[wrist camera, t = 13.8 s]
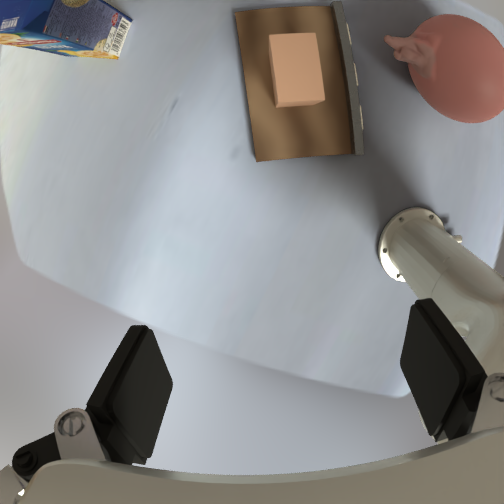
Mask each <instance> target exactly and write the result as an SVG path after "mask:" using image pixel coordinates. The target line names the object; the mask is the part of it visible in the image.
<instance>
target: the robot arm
mask: <svg viewBox="0 0 504 504" xmlns="http://www.w3.org/2000/svg"><path fill="white" fill-rule="evenodd" d="M400 217H401V218H400ZM461 242H462V237H461V235H454V236H451V235H450V234H449V233H447V232H446V231H445V228H444V225H443V223H442V221H441V220H440V218H439V217H438V216H437V215H436V214H435V213H433V212H431V211H430V210H427V209H425V208H420V207H414V208H409V209H405V210H403V211H401V212H399V213H398V214H397V215H395V216H394V217H393V218H392V219H391V220H390V221H389V222H388V223H387V225H386V227H385V228H384V230H383V232H382V234H381V237H380V241H379V246H378V254H379V260H380V263H381V265H382V267H383V268H384V270H385V271H386V272H387V274H388V275H390V276H391V277H392V278H394V279H395V280H398V281H402V282H406V283H407V284H408V285H409V286H410V288H411V289H412V290H413V292H414V293H415V294H416V296H417V297H418V298H419V300H416V302H415V304H414V305H412V306H411V309H410V314H409V320H408V325H407V331H406V336H405V340H404V345H403V350H402V354H401V358H400V366H401V369H402V371H403V374H404V376H405V378H406V380H407V383H408V385H409V387H410V390H411V392H412V394H413V397H414V399H415V401H416V404H417V406H418V408H419V416H420V419H421V422H422V424H423V426H424V427H425V429H426V431H427V432H428V433H429V435H430V436H431V437H432V438H433V439H434V440H435V442H437V443H438V445H435V446H432V447H428V448H425V449H422V450H418V451H414V452H411V453H407V454H404V455H400V456H396V457H392V458H388V459H383V460H379V461H375V462H370V463H365V464H360V465H354V466H348V467H342V468H335V469H328V470H321V471H313V472H303V473H291V474H274V475H215V474H199V473H186V472H176V471H168V470H160V469H152V468H145V467H138V466H133V465H132V463H137V464H143V465H145V463H146V460H147V458H150V457H151V456H152V453H153V449H154V446H155V442H156V439H157V436H158V433H159V430H160V426H161V423H162V420H163V416H164V413H165V410H166V406H167V404H168V400H169V397H170V394H171V391H172V387H173V382H172V378H171V376H170V374H169V371H168V369H167V366H166V364H165V361H164V359H163V356H162V354H161V351H160V349H159V346H158V343H157V341H156V338H155V335H154V333H153V331H152V330H151V329H149V328H148V327H147V326H146V325H133V326H131V327H130V328H129V330H128V331H127V333H126V335H125V337H124V338H123V340H122V341H121V343H120V345H119V347H118V348H117V350H116V352H115V353H114V355H113V357H112V359H111V360H110V362H109V364H108V366H107V367H106V369H105V371H104V373H103V375H102V377H101V378H100V380H99V382H98V384H97V386H96V387H95V389H94V391H93V393H92V395H91V397H90V398H89V400H88V402H87V404H86V405H87V407H86V409H85V410H83V409H80V408H72V409H68V410H66V411H64V412H63V413H62V414H60V415H59V416H58V418H57V419H56V421H55V424H54V432H53V433H51V434H49V435H47V436H45V437H43V438H41V439H39V440H36V441H34V442H32V443H29V444H27V445H25V446H23V447H21V448H19V449H18V450H17V451H16V453H15V454H14V456H13V460H12V467H11V466H10V465H7V466H6V467H5V468H3V469H2V470H1V471H0V504H504V277H503V276H502V275H500V274H499V273H498V272H496V271H495V270H494V269H492V268H491V267H490V266H488V265H487V264H486V263H485V262H483V261H482V260H481V259H479V258H478V257H477V256H475V255H474V254H473V253H472V252H470V251H469V250H468V249H466V248H465V247H464V246H462V245H461V244H460V243H461ZM461 336H467V338H466V340H465V341H464V340H463V338H462V337H461Z"/></svg>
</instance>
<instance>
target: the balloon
mask: <svg viewBox="0 0 504 504" xmlns="http://www.w3.org/2000/svg"><path fill="white" fill-rule="evenodd" d="M384 41H385V42H386V43H387V44H388V45H389V46H391V47H392V48H394V57H395V58H396V59H397V60H401V61H404V62H408V68H409V72H410V75H411V78H412V80H413V82H414V84H415V86H416V88H417V90H418V91H419V93H420V94H421V96H422V97H423V98H424V99H425V100H426V101H427V103H428V104H429V105H431V106H432V107H433V108H434V109H435V110H437V111H438V112H439V113H441V114H443V115H444V116H446V117H448V118H451V119H453V120H456V121H460V122H465V123H480V122H484V121H487V120H490V119H492V118H494V117H495V116H497V115H498V114H499V113H500V112H501V111H502V110H503V109H504V48H503V47H502V45H501V44H500V42H499V41H498V40H497V38H496V37H495V36H494V35H493V34H492V33H491V32H490V31H489V30H488V29H486V28H485V27H484V26H482V25H481V24H479V23H477V22H476V21H474V20H472V19H469V18H467V17H463V16H459V15H453V14H444V15H438V16H434V17H432V18H429V19H427V20H426V21H424V22H423V23H422V24H420V25H419V26H418V27H417V29H416V30H415V31H414V33H412V34H411V35H410V37H406V38H402V37H392V36H390V35H386V36H385V37H384Z"/></svg>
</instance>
